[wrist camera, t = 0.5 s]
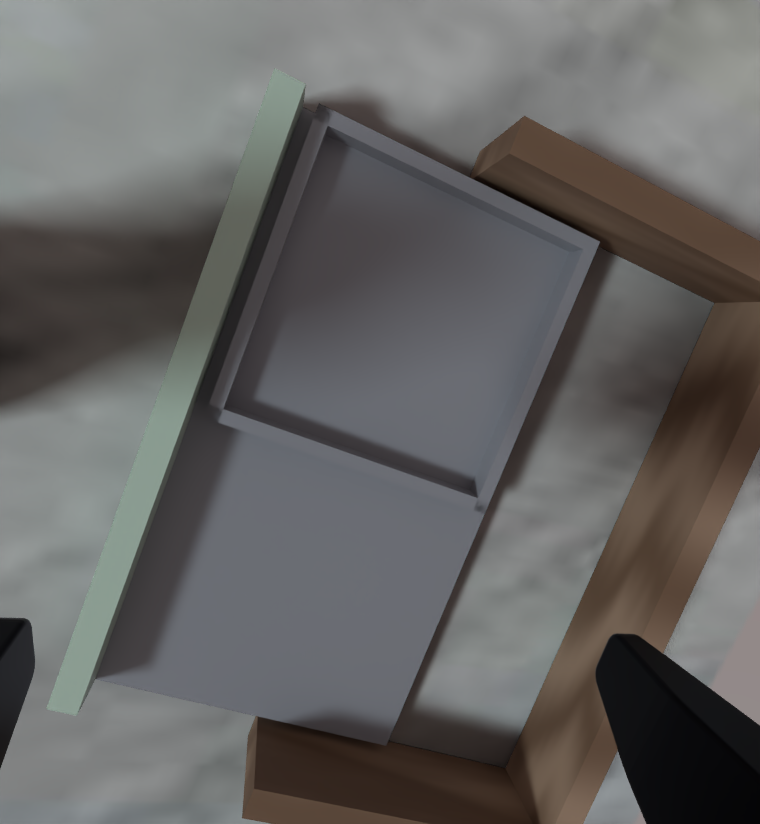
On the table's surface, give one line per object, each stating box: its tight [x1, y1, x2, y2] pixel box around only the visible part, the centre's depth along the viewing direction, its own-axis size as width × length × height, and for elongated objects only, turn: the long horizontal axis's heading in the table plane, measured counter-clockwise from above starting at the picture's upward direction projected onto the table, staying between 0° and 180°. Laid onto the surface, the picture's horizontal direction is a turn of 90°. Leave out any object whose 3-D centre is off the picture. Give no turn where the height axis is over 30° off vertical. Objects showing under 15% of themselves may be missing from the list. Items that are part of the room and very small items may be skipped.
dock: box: [242, 116, 760, 824], centre depth 22 cm, size 25×13×4 cm, turn 158°
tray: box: [47, 68, 600, 746], centre depth 21 cm, size 22×13×3 cm, turn 158°
